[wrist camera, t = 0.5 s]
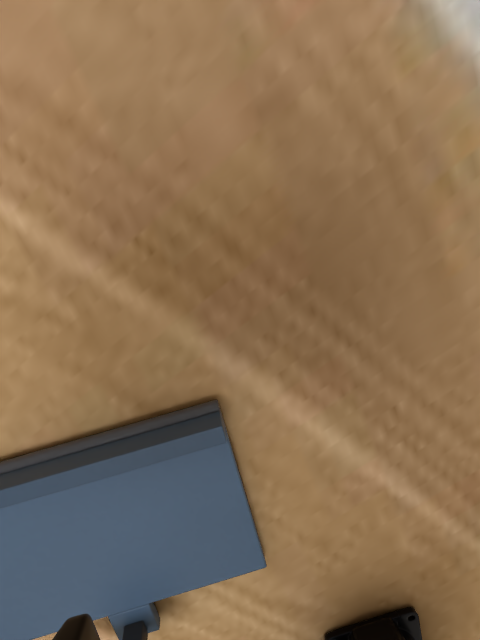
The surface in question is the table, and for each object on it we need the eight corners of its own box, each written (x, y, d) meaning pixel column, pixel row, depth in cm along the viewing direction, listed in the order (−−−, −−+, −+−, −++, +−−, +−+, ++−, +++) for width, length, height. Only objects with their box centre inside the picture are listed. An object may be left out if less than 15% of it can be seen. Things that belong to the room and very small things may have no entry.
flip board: (272, 584, 27) (288, 652, 23) (6, 666, 26) (-25, 751, 22) (216, 396, 23) (223, 440, 19) (-105, 489, 22) (-167, 555, 18)
